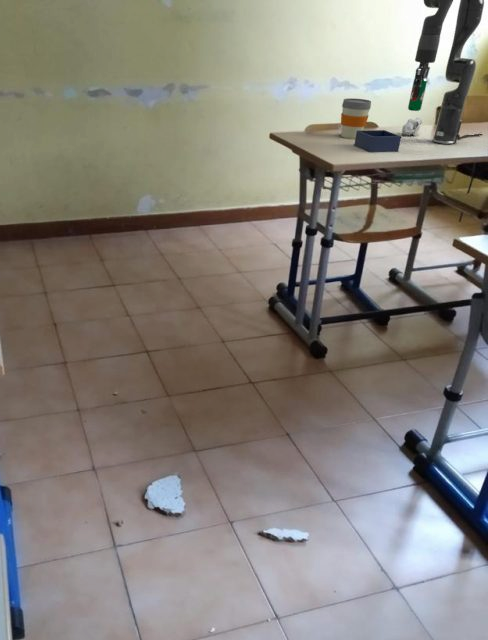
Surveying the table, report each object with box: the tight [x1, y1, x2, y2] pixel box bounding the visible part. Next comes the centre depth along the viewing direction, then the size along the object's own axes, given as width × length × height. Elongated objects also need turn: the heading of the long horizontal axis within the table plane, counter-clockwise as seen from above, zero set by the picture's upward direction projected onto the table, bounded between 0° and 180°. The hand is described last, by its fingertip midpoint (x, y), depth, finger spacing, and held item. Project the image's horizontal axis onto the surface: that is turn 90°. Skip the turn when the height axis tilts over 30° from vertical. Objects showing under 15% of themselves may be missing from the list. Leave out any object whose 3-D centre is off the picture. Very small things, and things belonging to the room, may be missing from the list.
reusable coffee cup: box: [340, 98, 372, 140], centre depth 273 cm, size 13×13×15 cm
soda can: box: [407, 77, 428, 112], centre depth 242 cm, size 5×5×12 cm
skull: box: [401, 117, 423, 137], centre depth 284 cm, size 8×9×12 cm
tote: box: [353, 129, 402, 153], centre depth 256 cm, size 13×13×6 cm
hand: (417, 96), depth 243 cm, fingers closed on soda can, 5 cm apart
